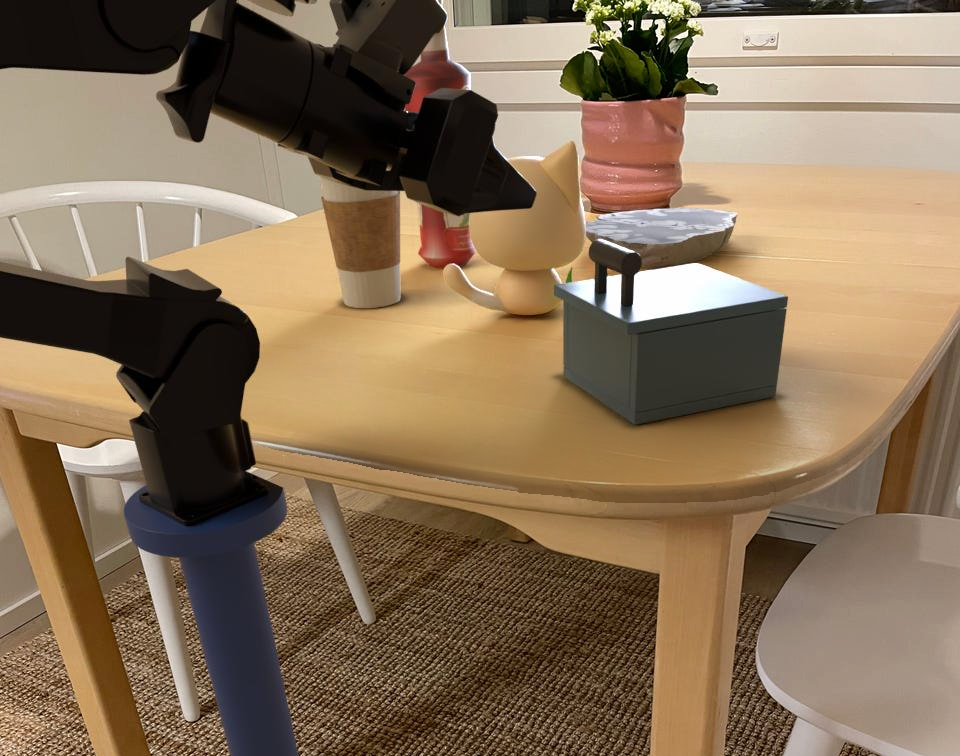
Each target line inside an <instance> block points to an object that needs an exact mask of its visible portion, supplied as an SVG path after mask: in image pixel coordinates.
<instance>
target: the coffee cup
mask: <svg viewBox="0 0 960 756" xmlns="http://www.w3.org/2000/svg"><path fill="white" fill-rule="evenodd" d="M314 174H315V175H317V176H318V178H319V182H320V188H321V192H322V193H321V194H322V196H321V203H322V208H323V213H324V217H325V220H326V227H327V231H328V235H329V239H330V243H331V249H332V253H333V257H334V262H335V267H336V268H337V274H338V278H339V284H340V289H341V295H342V300H343V303H344V305H346V306H347V307H350V308H355V309H376V308H384V307H388V306H392V305H394V304H397V303H399V302H400V300H401V299H402V286H401V191H366V190H362V189H359V188H355V187H350V186H347V185H343V184H339V183H336V182H334V181H332V180H329V179H327V178H325V177H322V176H320V175H318V174H316V173H314Z"/></svg>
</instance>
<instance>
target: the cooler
mask: <svg viewBox="0 0 960 756" xmlns="http://www.w3.org/2000/svg"><path fill="white" fill-rule="evenodd" d="M562 304H563V305H562V311H563V312H562V315H563V316H562V317H563V318H562V321H563V322H562V326H563V327H562V328H563V329H562V333H563V334H562V338H563V341H562V343H563V344H562V349H563V350H562V351H563V352H562V354H563V355H562V356H563V357H562V359H563V361H562V363H563V364H562V365H563V374H562V375H563V378H565V379H567V380H568V381H569V382H571V384H574V385H575V386H577V387H578V388H580V389H581V390H583V391H584V392H585V393H587V394H588V395H590V396H592V398H594V399H596V400H597V401H599V402H600V403H602V404H603V405H605V406H606V407H607V408H609V409H610V410H612V411H613V412H615V413H616V414H617V415H619V416H620V417H622V418H624V420H626V421H628V422H629V423H631V424H632V425H634V426H637V425H642V424H646V423H652V422H657V421H661V420H666V419H672V418H677V417H681V416H688V415H690V414H696V413H701V412H707V411H711V410H717V409H720V408H721V409H722V408H726V407H731V406H736V405H740V404H741V405H742V404H745V403H751V402H755V401H761V400H765V399H769V398H775V397H776V395H777V387H778V386H777V385H778V380H779V373H780V365H781V356H782V349H783V341H784V333H785V326H786V318H787V307H786V308H781V309H775V310H770V311H764V312H758V313H752V314H747V315H741V316H735V317H729V318H724V319H718V320H712V321H706V322H701V323H695V324H689V325H683V326H678V327H672V328H666V329H660V330H654V331H649V332H643V333H637V334H631V335H627V334H625V333H623V332H621V331H620V330H618V329H616V328H614V327H612V326H610V325H608V324H607V323H605V322H603V321H601V320H599V319H597V318H595V317H593V316H592V315H590V314H588V313H586V312H584V311H582V310H580V309H579V308H577V307H575V306H573V305H571V304H569V303H567V302H565V301H564V300H562Z"/></svg>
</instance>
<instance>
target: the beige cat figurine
mask: <svg viewBox="0 0 960 756" xmlns="http://www.w3.org/2000/svg"><path fill="white" fill-rule="evenodd" d="M504 158H505V159H506V160H507V161H508V162H509V163H510V164H511V165H512V166H513V167H514V168H515V169H516V170H517V171H518V172H519V173H520V174H521V175H522V176H523V178H524V179H525V180H526V181H527V182H528V183H529V184H530V185H531V186H532V187H533V188H534V189H535V190H536V192H537V195H536V198H535V201H534V204H533V206H532V208H530V209H517V210H501V211H488V212H477V213H470V216H469V230H470V236H471V240H472V243H473V246H474V248H475V250H476V253H477V254H478V255H479V257H481V258H482V259H483V260H484V261H486V262H487V263H489V264H490V265H492V266H496V267H497V268H501V269H504V270H503V271H502V272H501V274H500V276H499V278H498V280H497V282H496V284H495V288H494V292H493V293H491V292H488V291H485V290H481V289H479V288H477V287H475V286H474V285H473V284H472V283H471V282H470V281H469V279H468V277H467V276H466V274H465V272H464V271H463V269H462V268H461V266H457V265H456V264H448V265H447V266H446V267H445V268H443V271H442V276H443V279H444V281H445V283H446V285H447V286H448V287H449V288H450V289H451V290H452V291H453V292H455V293H457V294H459V295H460V296H462V297H464V298H466V299H467V300H470V302H472V303H474V304H476V305H477V306H480V307H482V308H485V309H488V310H492V311H498V312H507V313H510V314H511V315H512V314H513V315H518V316H535V315H542V314H546V313H550V312H552V311H553V310H555V309H556V308H557V307H558V306H559V305H560V304H561V303H562V302H563V300H562V299H560V298H558V297H556V296H554V285H557V284H563V282H562V280H561V277H560V276H559V274H558V272H557V271H556V270H555V269H558V268H562V267H565V266H568V265H569V264H571V263H573V262H574V261H576V259H578V258H579V256H580V255H581V253H582V252H583V250H584V248H585V244H586V239H587V237H586V222H587V221H586V215H585V209H584V204H583V201H582V198H581V197H582V195H581V183H580V160H579V153H578V148H577V144H576V142H575V141H573V140H569V141H567V142H566V143H565V144H563V145H562V146H560V147H559V148H558V149H556V150H555V151H554V152H551V153H549V154H548V155H546V156H545V157H544V158H543V157H540V156H533V155H525V156H524V155H523V156H522V155H521V156H515V157H511V158H508V159H507V158H506V157H504ZM609 276H610V275H609V273H608V272H607V277H609ZM570 282H573V267H570V270H569V272H568V274H567V276H566V280H565V283H570Z"/></svg>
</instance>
